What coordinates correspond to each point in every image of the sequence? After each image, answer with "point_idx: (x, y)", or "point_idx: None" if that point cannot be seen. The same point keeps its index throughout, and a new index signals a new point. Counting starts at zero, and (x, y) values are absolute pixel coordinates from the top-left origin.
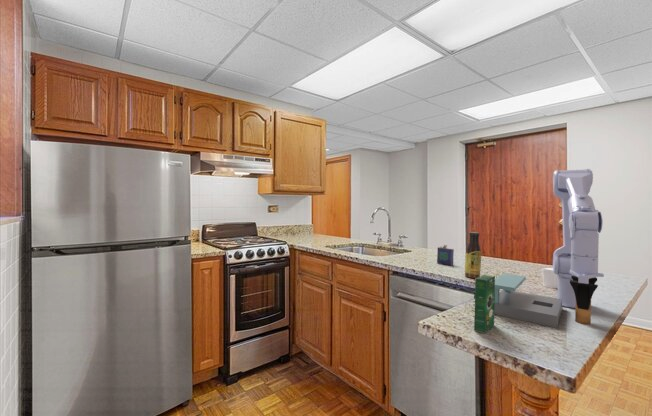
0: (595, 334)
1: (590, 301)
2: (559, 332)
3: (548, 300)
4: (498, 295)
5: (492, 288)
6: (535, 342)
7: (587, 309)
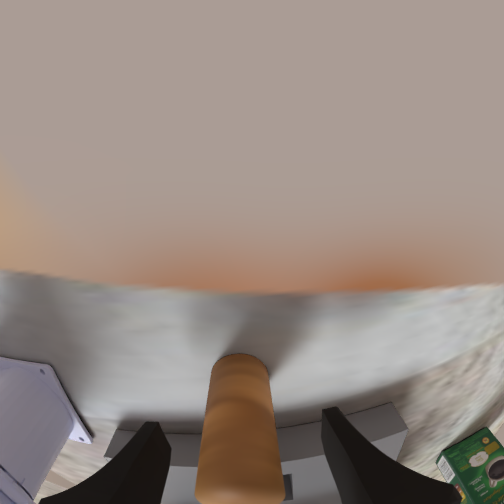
0: (385, 314)
1: (363, 437)
2: (428, 381)
3: (180, 487)
4: None
5: (495, 495)
6: (500, 371)
7: (338, 409)
